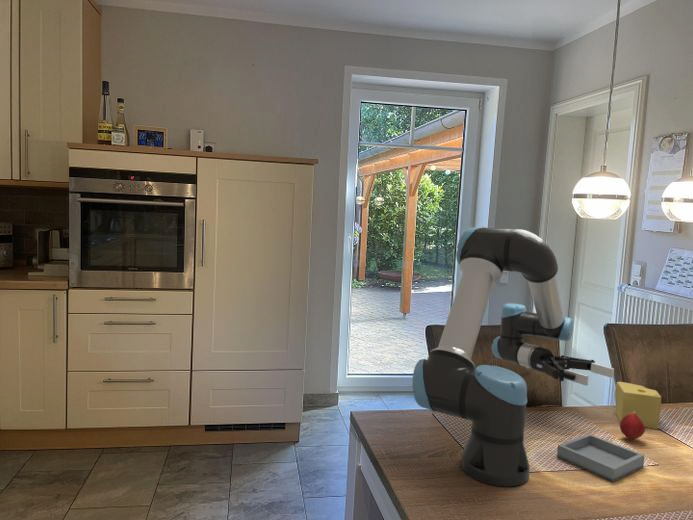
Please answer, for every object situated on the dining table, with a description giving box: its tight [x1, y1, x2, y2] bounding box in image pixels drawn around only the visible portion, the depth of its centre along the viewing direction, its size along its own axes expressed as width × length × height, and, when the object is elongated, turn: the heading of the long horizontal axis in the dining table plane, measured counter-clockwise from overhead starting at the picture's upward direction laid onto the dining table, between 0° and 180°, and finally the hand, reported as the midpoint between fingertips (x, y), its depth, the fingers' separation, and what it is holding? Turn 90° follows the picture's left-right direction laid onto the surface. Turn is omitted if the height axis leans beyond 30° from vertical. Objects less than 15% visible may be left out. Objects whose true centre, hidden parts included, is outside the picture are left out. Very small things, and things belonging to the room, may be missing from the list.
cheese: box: [614, 381, 662, 430], centre depth 152 cm, size 10×11×10 cm
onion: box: [619, 412, 646, 441], centre depth 138 cm, size 6×6×8 cm
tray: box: [556, 433, 645, 483], centre depth 124 cm, size 14×14×3 cm
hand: (600, 376), depth 145 cm, fingers open, 13 cm apart
